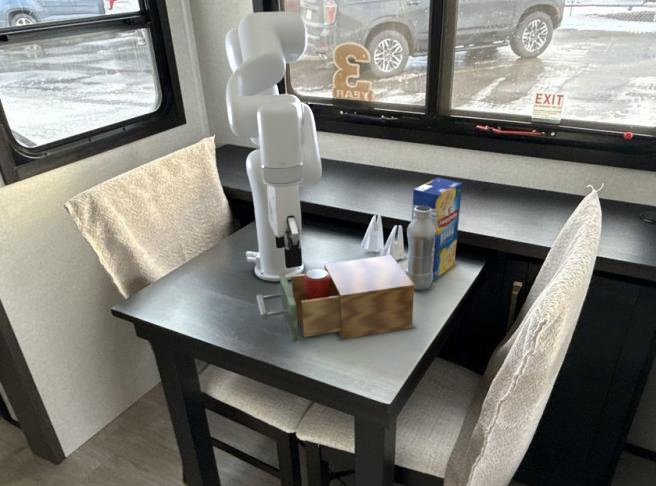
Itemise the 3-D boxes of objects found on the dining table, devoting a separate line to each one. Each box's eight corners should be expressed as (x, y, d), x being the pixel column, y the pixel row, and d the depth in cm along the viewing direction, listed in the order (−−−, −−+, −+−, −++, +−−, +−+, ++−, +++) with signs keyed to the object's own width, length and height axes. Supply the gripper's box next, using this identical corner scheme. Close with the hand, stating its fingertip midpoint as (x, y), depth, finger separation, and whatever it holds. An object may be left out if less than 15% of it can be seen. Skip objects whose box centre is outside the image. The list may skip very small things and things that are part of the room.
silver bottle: (431, 294, 130) (437, 214, 120) (403, 291, 131) (406, 213, 121) (433, 281, 135) (439, 204, 125) (405, 279, 137) (409, 202, 126)
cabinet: (341, 339, 115) (340, 295, 109) (325, 304, 127) (324, 263, 121) (412, 327, 118) (414, 284, 112) (389, 295, 130) (391, 254, 125)
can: (309, 323, 116) (307, 281, 111) (304, 311, 121) (302, 269, 116) (333, 320, 117) (331, 277, 112) (327, 307, 122) (326, 266, 117)
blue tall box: (408, 273, 139) (413, 189, 128) (431, 257, 147) (437, 177, 135) (432, 280, 136) (438, 195, 124) (454, 264, 143) (462, 182, 132)
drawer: (265, 346, 112) (261, 309, 107) (256, 312, 123) (253, 278, 118) (360, 331, 116) (360, 294, 111) (344, 300, 127) (343, 266, 122)
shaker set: (359, 252, 151) (359, 214, 145) (368, 246, 153) (369, 209, 148) (396, 263, 144) (398, 224, 138) (405, 258, 147) (407, 219, 141)
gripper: (255, 162, 108) (263, 242, 117) (270, 189, 94) (278, 278, 102) (292, 159, 110) (297, 237, 119) (313, 184, 96) (317, 272, 104)
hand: (288, 256), depth 110 cm, fingers open, 9 cm apart
